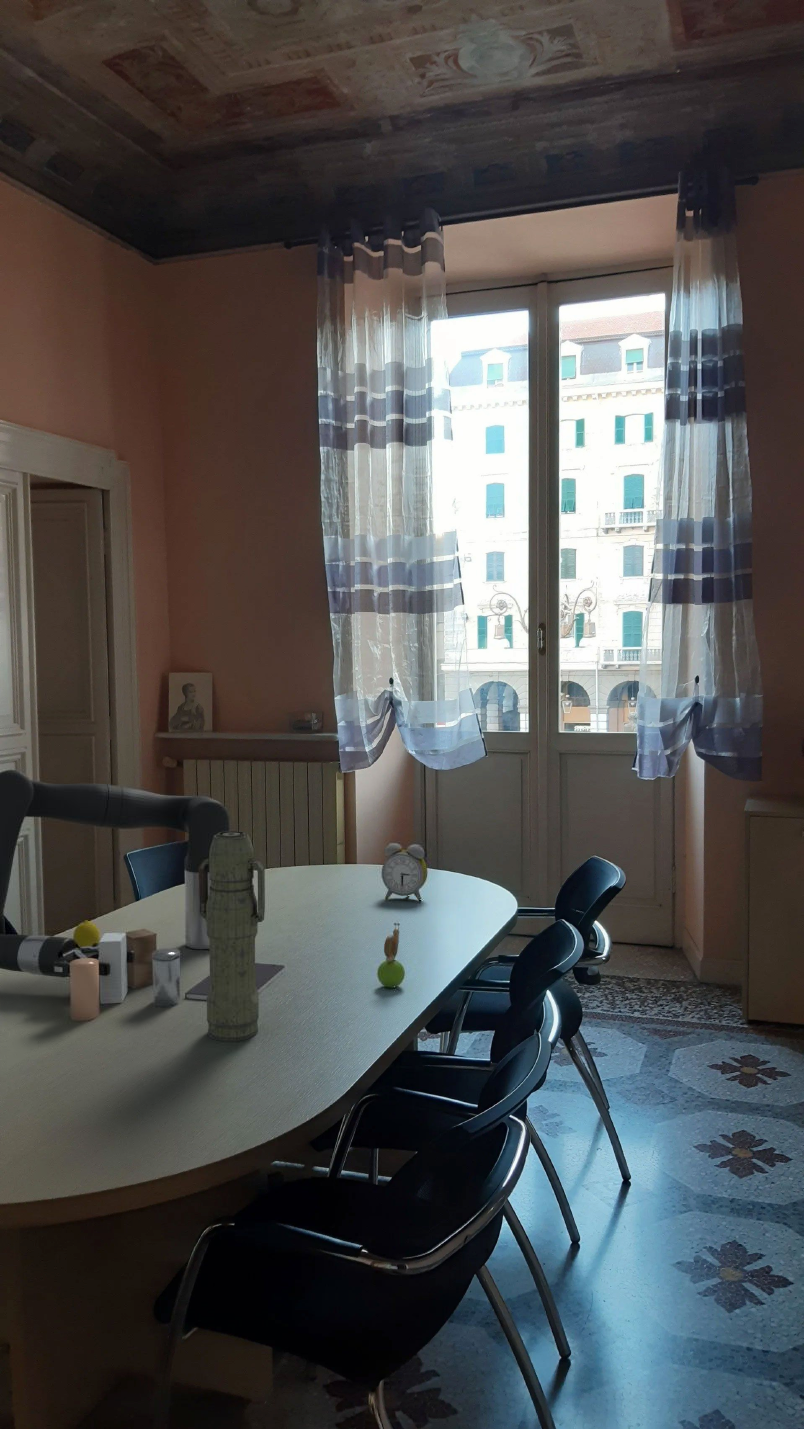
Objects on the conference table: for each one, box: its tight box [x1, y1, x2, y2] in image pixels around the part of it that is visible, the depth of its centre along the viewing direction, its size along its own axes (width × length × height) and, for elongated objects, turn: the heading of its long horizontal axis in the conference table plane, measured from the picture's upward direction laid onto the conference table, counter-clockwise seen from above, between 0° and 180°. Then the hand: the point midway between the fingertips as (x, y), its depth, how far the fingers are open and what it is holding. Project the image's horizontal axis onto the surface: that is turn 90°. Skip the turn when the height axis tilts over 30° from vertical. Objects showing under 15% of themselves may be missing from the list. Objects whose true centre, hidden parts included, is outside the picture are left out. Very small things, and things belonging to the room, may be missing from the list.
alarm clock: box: [381, 842, 428, 901], centre depth 281 cm, size 12×7×15 cm, turn 73°
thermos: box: [198, 830, 266, 1043], centre depth 183 cm, size 9×12×35 cm
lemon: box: [72, 920, 101, 948], centre depth 229 cm, size 6×6×8 cm
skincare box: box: [99, 932, 128, 1005], centre depth 201 cm, size 6×4×12 cm
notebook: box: [184, 962, 285, 1001], centre depth 211 cm, size 13×2×21 cm
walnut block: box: [123, 928, 158, 989], centre depth 211 cm, size 5×5×10 cm
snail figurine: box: [376, 922, 406, 988], centre depth 209 cm, size 5×6×12 cm
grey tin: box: [152, 948, 181, 1008], centre depth 199 cm, size 5×5×10 cm
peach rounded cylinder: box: [69, 958, 100, 1022], centre depth 192 cm, size 5×5×10 cm
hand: (121, 963), depth 201 cm, fingers open, 8 cm apart
